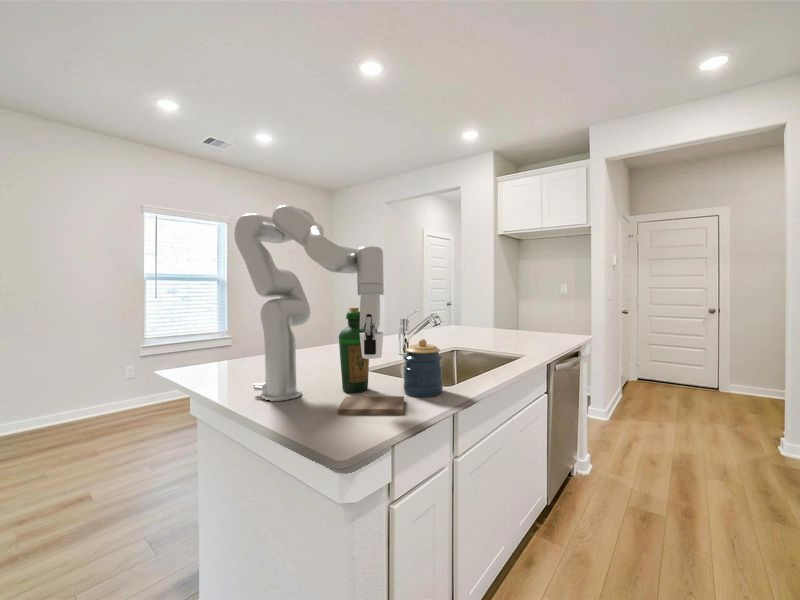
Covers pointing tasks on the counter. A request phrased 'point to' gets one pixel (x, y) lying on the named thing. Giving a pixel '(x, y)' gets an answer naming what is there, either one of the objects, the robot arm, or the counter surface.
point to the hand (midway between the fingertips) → (371, 351)
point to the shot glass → (378, 345)
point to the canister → (422, 370)
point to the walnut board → (372, 405)
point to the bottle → (353, 355)
